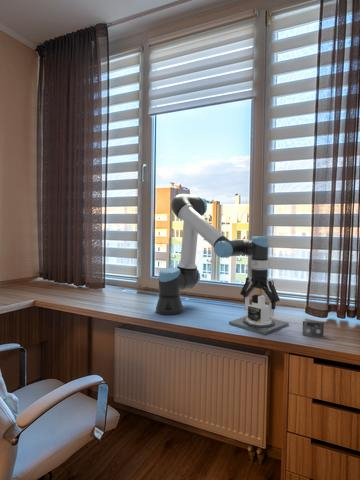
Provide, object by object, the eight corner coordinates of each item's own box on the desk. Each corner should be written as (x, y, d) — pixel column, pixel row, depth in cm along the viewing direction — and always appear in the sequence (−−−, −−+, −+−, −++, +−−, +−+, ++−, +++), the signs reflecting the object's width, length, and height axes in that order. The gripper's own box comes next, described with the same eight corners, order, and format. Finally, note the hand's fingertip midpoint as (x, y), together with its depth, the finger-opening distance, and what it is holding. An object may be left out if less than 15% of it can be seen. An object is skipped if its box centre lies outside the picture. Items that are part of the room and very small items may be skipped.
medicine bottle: (247, 319, 150) (247, 295, 149) (256, 316, 155) (256, 292, 154) (260, 323, 144) (260, 297, 144) (268, 320, 149) (269, 295, 149)
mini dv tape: (322, 335, 135) (323, 322, 135) (323, 337, 133) (323, 323, 133) (302, 334, 137) (302, 320, 137) (302, 335, 136) (303, 321, 135)
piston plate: (229, 324, 150) (229, 319, 150) (253, 315, 164) (253, 311, 163) (265, 335, 135) (265, 330, 135) (288, 325, 149) (288, 320, 149)
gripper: (233, 266, 155) (233, 308, 156) (279, 272, 136) (278, 320, 137) (242, 265, 160) (242, 306, 161) (287, 271, 141) (286, 317, 143)
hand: (258, 312), depth 149 cm, fingers open, 13 cm apart
